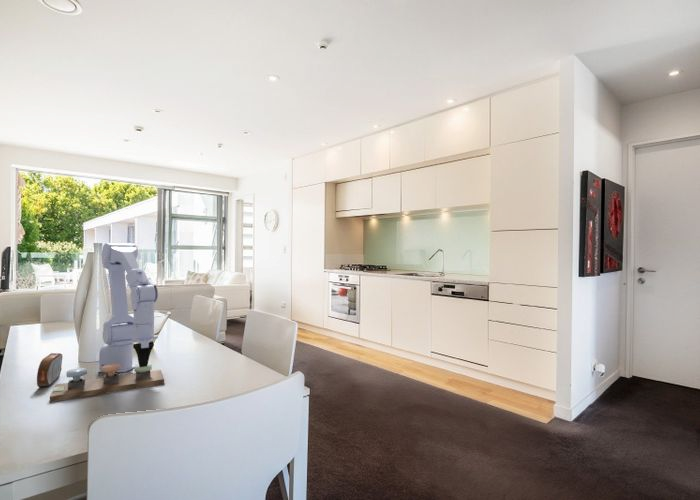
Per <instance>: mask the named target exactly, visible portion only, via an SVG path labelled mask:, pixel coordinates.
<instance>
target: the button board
mask: <svg viewBox="0 0 700 500" xmlns="http://www.w3.org/2000/svg"><path fill="white" fill-rule="evenodd" d="M119 373H120V372H115V376H113V377H108V374H103V377H99V378H94V379H93V378H92V379H87V380H86V377H81V378H80V381H78V382H73V378H72V379H69V380H68V382H64V383H59V384H57V383H56V384H54V387H53V389H52V391H51V393H50V395H49V403H52V402H51V401H54V402H59V401H58V400H60V401H64V400H72V399H77V398H78V399H79V398H84V397H90V396H91V397H92V396H95V395H103V394H108V393H109V394H110V393H116V392H121V391H123V392H124V391H128V390H134V389H140V388H147V387H148V388H149V387H153V386H160V385H165V378H164V374H163V372H162V370H161V369H157V370H150V371H146V372H143V373H140V372H134V373H129V374H122V375H121V374H120V375H119Z"/></svg>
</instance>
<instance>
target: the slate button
mask: <svg viewBox="0 0 700 500" xmlns="http://www.w3.org/2000/svg"><path fill="white" fill-rule="evenodd" d="M87 371H88V369H87V368H86V367H79V368H72V369H68V370H67V371H66V374H65V375H66V378H72V379H73V382H78V381H80V378H82V376H86V375H88V373H87Z"/></svg>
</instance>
